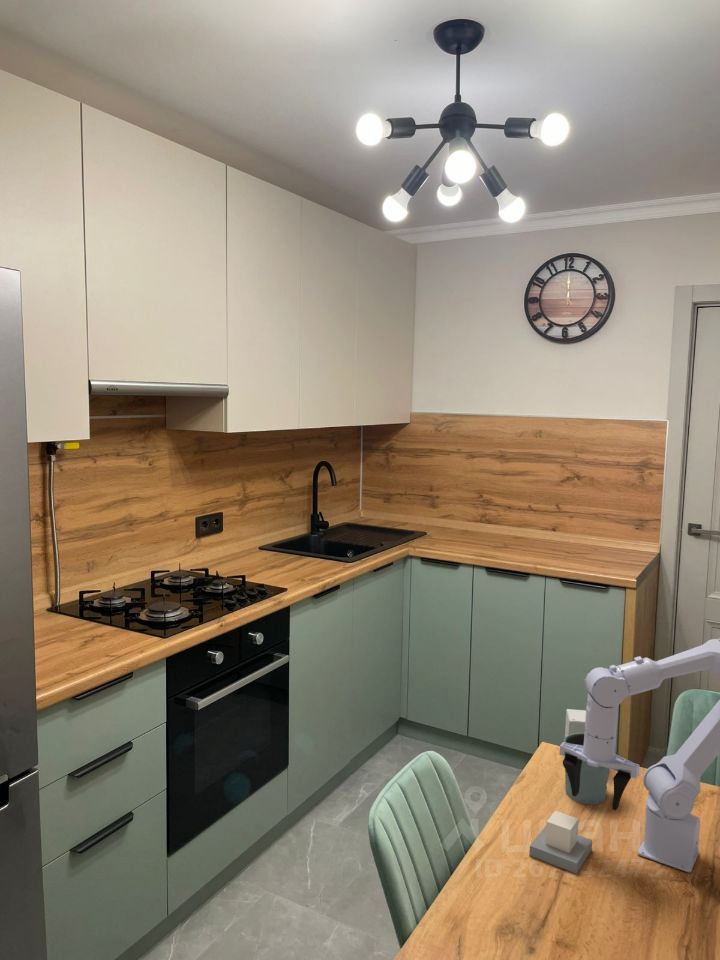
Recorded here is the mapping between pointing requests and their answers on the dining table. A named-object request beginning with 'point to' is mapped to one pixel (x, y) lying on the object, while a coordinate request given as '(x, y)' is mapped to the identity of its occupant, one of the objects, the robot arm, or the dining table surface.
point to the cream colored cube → (562, 831)
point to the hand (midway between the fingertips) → (595, 800)
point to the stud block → (561, 852)
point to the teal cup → (587, 778)
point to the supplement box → (575, 721)
